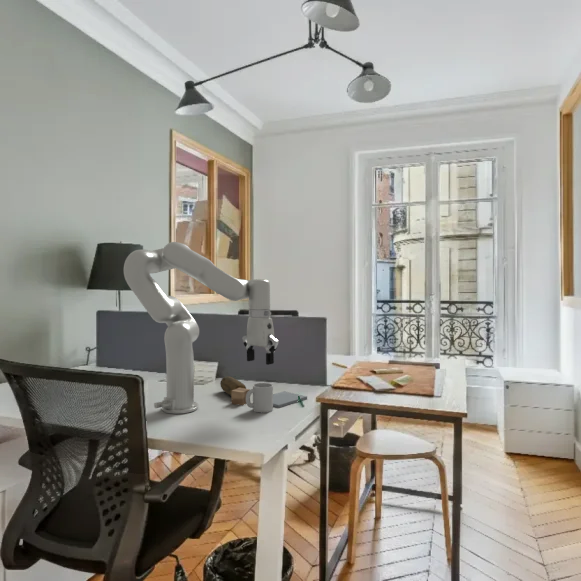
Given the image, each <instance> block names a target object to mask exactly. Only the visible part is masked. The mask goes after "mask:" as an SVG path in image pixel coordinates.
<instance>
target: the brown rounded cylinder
mask: <svg viewBox="0 0 581 581" xmlns="http://www.w3.org/2000/svg"><path fill="white" fill-rule="evenodd" d="M219 384H220V388H221V389H222V391H223V392H225V393H226V394H227V395H229V396H231V397H232V390H235V389H237V388H244V389H247V387H246V385H245V384H244V383H243V382H241V381H240V380H239V379H236V378H234V377H232V376H229V375H228V376H224V377H222V379H221V380H220V383H219Z"/></svg>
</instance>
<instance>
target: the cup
mask: <svg viewBox="0 0 581 581" xmlns="http://www.w3.org/2000/svg"><path fill="white" fill-rule="evenodd" d="M273 394H274V384H272V383H269V382H258V383H254V384H253V385H252V388H250V390H249V391H248V392H247V394H246V404H245V405H246V406H247V407H248V408H250V409H252V410H253V411H254V412H255V411H256V412H255V413H258V412H261V413H260V414H263V413H262V412H267V413H271V412H272V411H273V409H274V406H273ZM251 395H252V402H251ZM270 411H271V412H270Z"/></svg>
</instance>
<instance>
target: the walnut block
mask: <svg viewBox="0 0 581 581" xmlns="http://www.w3.org/2000/svg"><path fill="white" fill-rule="evenodd" d="M249 390H251V388H250V389H249V388H246V389H244V388H237V389H235V390H232V396H231V404H232V405H236V404H239V405H238V406H245V405H247V404H246V394H247V392H248V391H249ZM244 404H245V405H244Z"/></svg>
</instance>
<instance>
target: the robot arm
mask: <svg viewBox="0 0 581 581" xmlns="http://www.w3.org/2000/svg"><path fill="white" fill-rule="evenodd" d="M173 269H176V270H178V271H180V272H182V273H184V274H186V275H187V276H188V277H191V278H192V279H194V280H195V281H197V282H199V283H200V284H202V285H203V286H205V287H207V288H208V289H209V290H211V291H212V292H215V293H216V294H219V295H220V296H221V297H223V298H225V299H227V300H229V301H233V302H237V301H241V300H247V299H248V318H247V325H246V326H247V327H246V334H245V335H243V336H242V337H241V340H242V342H243V346H244V347H245V350H246V361H247V362H253V361H255V349H254V348H255V347H259V348H264V349H265V351H266V352H267V353H265V364H266V365H273V364H274V362H275V360H274V358H275V357H274V356H275V355H274V353H275V352H276V350H277V349H278V345H279V340H278V339H277V338H275V329H274V328H275V327H274V323H273V318H271V315H272V311H271V284H270V281H269V280H268V279H260V278H258V279H243V278H236V277H234V276H232V275H231V274H228V273H227V272H225V271H223V270H221V269H220V268H218V267H217V266H216V265H215V264H214V263H213V262H212V260H210V258H207V257H205V256H203V255H202V254H199V253H198V252H197V251H194V250H193V249H191V248H190V246H188V245H187V244H185V243H183V242H182V243H181V242H178V241H171V242H168V243H166V245H164V247H163V248H162V247H161V248H159V249H154V250H153V249H152V250H148V249H143V248H142V249H136V250H133V251H131V252H130V254H128V256H127V257H126V258H125V261H124V264H123V276H124V279H125V282H126V283H127V285H128V287H129V288H130V290H131V291H132V292H133V293H134V295H135V296H136V297H137V300H139V302H140V303H141V305H142V306H143V309H145V311H146V312H147V313H148V315H149V316H150V317H151V318H152V320H153V321H155V322H156V323H159V324H166V326H167V327H166V329H165V331H164V337H163V338H164V345H165V346H164V348H165V360H166V362H165V363H166V364H165V366H166V396H165V397H163V400H161V401H158V402H155V403H154V404H153V407H154V409H158V408H161V410H162V411H163V413H167V414H179V415H180V414H187V413H188V414H189V413H192V412H195V411H197V409H199V404H198V402H195V392H194V391H195V387H194V386H195V384H194V383H195V380H194V379H195V378H194V377H195V375H194V374H195V371H194V370H195V369H194V367H195V366H194V365H195V362H194V359H195V358H194V349H193V348H194V347H193V343H194V342H195V341H197V339H198V338H199V336H200V327H199V324H198V323H197V321H196V319H194V317H193V316H192V315H191V313H190V312H189V311H188V309H187V308H186V307H185V306H184V304H183V303H182V301H181V300H180V299H178V298H177V297H176V296H173V295H167V294H166V293H165V292H164V291H163V289H162V288H161V287H160V285H159V284H158V283H157V281H156V280H155V279H154V278H153V277H152V276H151V274H157V273H163V272H165V271H171V270H173Z"/></svg>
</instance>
